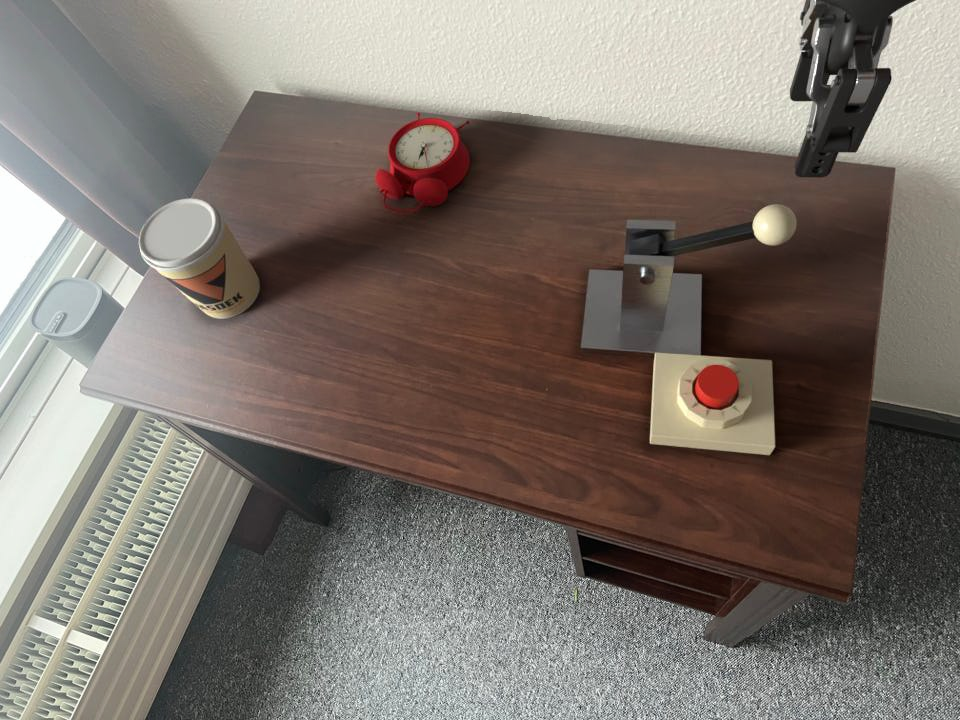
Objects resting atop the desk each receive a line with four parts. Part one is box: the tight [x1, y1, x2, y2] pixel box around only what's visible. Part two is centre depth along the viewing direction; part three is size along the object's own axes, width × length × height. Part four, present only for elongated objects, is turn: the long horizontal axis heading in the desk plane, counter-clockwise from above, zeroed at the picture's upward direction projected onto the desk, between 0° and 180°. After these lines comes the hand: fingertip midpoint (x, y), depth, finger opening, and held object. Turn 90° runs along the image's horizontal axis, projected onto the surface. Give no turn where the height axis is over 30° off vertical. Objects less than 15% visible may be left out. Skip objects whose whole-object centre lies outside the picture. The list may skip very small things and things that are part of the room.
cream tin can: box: [138, 197, 261, 320], centre depth 77 cm, size 9×9×12 cm
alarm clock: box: [374, 112, 471, 214], centre depth 85 cm, size 10×6×15 cm
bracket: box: [580, 219, 703, 359], centre depth 67 cm, size 12×10×13 cm
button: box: [695, 365, 739, 408], centre depth 63 cm, size 4×4×2 cm
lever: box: [629, 203, 798, 257], centre depth 60 cm, size 14×3×3 cm, turn 81°
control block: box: [649, 352, 776, 456], centre depth 65 cm, size 11×9×4 cm
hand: (807, 133), depth 48 cm, fingers open, 7 cm apart
